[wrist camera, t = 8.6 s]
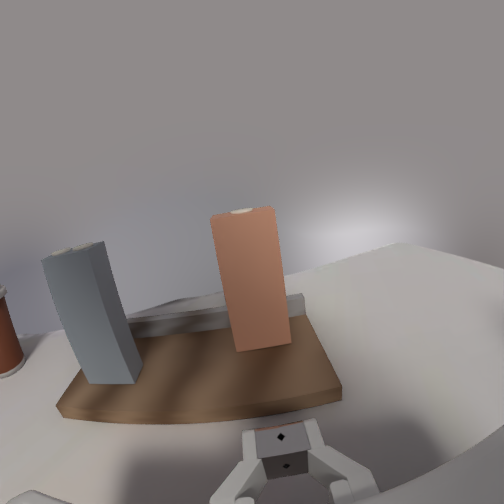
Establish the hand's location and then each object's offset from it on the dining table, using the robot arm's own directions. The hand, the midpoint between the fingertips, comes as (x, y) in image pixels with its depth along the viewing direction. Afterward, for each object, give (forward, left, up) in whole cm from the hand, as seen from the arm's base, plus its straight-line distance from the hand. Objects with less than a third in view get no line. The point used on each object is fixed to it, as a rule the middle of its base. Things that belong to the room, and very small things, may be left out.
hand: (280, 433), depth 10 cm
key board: (-7, +15, -6) cm, 18 cm away
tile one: (0, +16, -5) cm, 17 cm away
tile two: (-14, +12, -5) cm, 19 cm away
